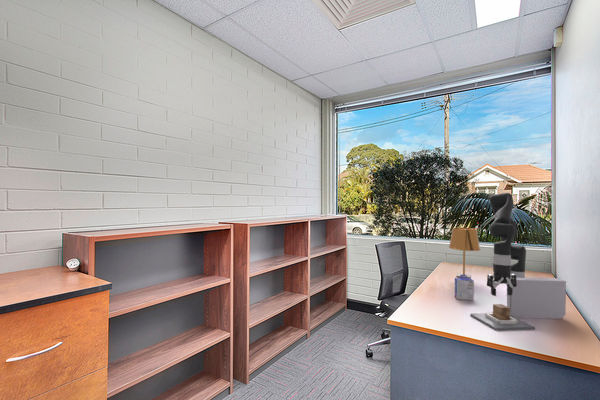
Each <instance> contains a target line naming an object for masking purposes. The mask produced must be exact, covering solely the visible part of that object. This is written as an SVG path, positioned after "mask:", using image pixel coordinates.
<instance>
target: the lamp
mask: <svg viewBox="0 0 600 400" xmlns="http://www.w3.org/2000/svg"><path fill="white" fill-rule="evenodd" d="M448 249H452V250H456V251H462V273H459V272H457V273H456V275H455V276H456V277H455V278H460V275H466V276H467V279H472V274H469V273H468V274H466V273H465V272H466V252H467V251H468V252H479V251H481V247H480V241H479V235H478V230H477V228H472V227H452V231H451V235H450V240H449V246H448ZM461 277H465V276H461Z"/></svg>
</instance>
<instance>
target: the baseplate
mask: <svg viewBox="0 0 600 400" xmlns="http://www.w3.org/2000/svg"><path fill="white" fill-rule="evenodd" d="M469 314H470V317H471V318H473V319H475V320H477V321H479V322H480V323H482V324H483V325H486V326H488V328H491V329H492V328H493V329H492V330H494V331H496V330H499V331H519V330H520V331H521V330H522V331H526V330H528V331H530V330H535V329H536V327H535V326H534V325H532V324H530V323H528V322H526V321H524V320H522V319H521V318H516V317H513V316H511V315H510V320H498V319H496V318H495V317H493V312H485V313H483V312H475V313H469Z"/></svg>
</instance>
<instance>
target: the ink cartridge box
mask: <svg viewBox="0 0 600 400" xmlns="http://www.w3.org/2000/svg"><path fill="white" fill-rule="evenodd" d="M461 276H465V277H461ZM474 281H475V280H474V279H472V278H471V279H467V276H466V275H460V278H456V277H455V278H454V297H455V299H456V300H463V301H464V300H465V301H474V297H475V295H474V294H475V293H474V292H475V291H474V287H475V285H474V284H475V283H474Z"/></svg>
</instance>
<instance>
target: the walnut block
mask: <svg viewBox="0 0 600 400" xmlns="http://www.w3.org/2000/svg"><path fill="white" fill-rule="evenodd" d="M492 313H493V317H495V318H496V319H498V320H510V307H507V305H506V304H503V303H498V304H497V303H494V304H492Z"/></svg>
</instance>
